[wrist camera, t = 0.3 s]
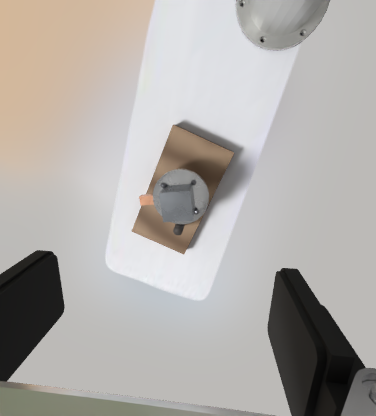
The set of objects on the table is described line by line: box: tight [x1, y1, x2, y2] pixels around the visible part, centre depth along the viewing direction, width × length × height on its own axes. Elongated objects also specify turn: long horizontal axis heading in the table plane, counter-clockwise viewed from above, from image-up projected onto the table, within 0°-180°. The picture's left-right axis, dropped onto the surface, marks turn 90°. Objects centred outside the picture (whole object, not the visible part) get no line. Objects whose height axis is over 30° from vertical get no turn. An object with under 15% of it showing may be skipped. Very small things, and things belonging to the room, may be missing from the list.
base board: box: [132, 125, 234, 254], centre depth 41 cm, size 21×11×6 cm, turn 156°
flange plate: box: [139, 168, 209, 224], centre depth 37 cm, size 11×9×6 cm
